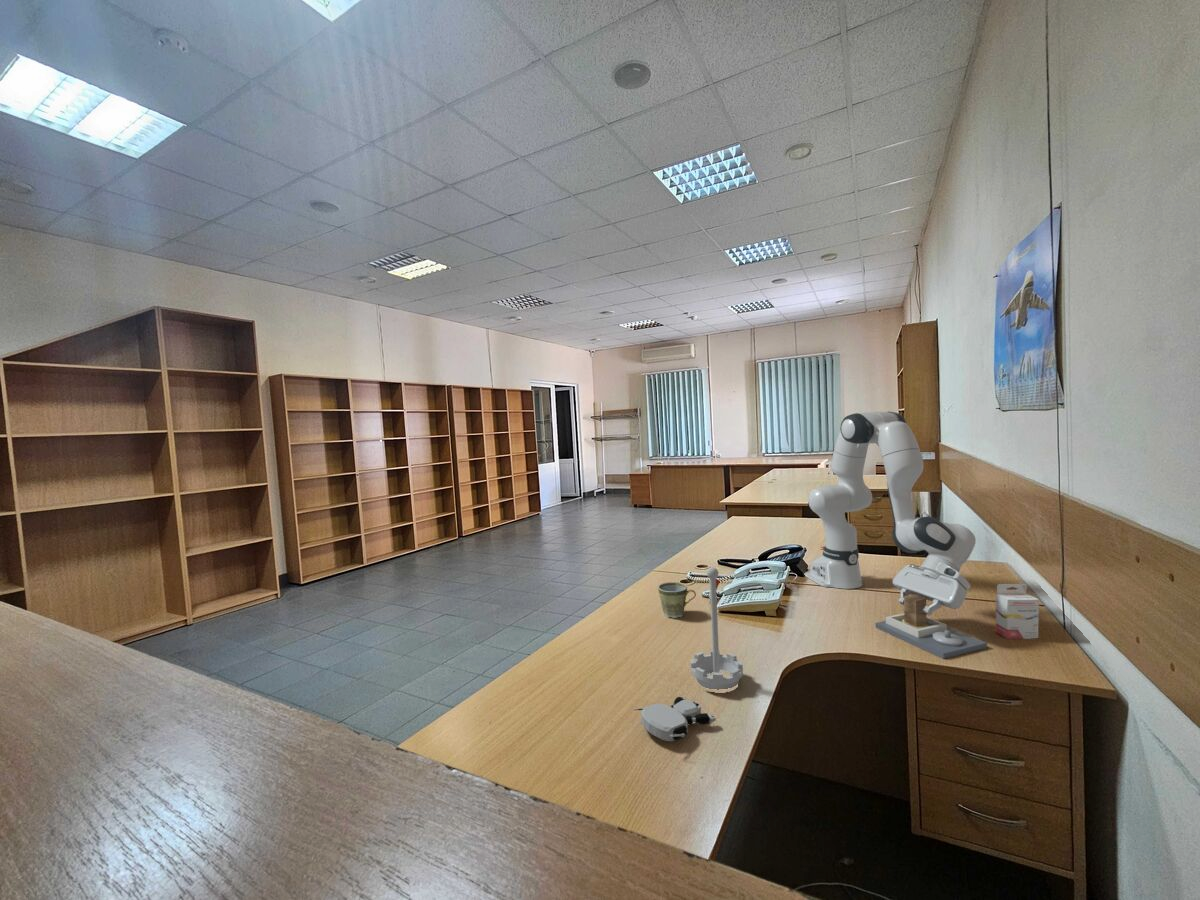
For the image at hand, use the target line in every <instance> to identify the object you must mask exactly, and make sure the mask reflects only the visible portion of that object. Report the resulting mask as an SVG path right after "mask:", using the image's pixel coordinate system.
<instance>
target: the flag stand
mask: <svg viewBox="0 0 1200 900" xmlns="http://www.w3.org/2000/svg"><path fill="white" fill-rule="evenodd" d="M706 575H707V577H708V578H709V590H710V592H709V593H710V595H709V596H710V614H711V615H710V616H711V619H710V620H711V641H712V649H711V650H709V654H704V652H703V651H700V652H696V653H695V654H694V658H690V672H691V674H692V675H693V676H694V677H695V678H694V679H696V681H697V682H698V683H699V684H700V685H701V686H703V687H705V688H709V689H717V690H719V689H728V688H732V687H734V686H736V685H737V684H738V682H739V683H740V679H741V678H742V677H743V675H744V669H743V660H741V659H739V660H737V655H736V654H734V653H731V652H727V653H726V655H725V654H720V653H721V651H720V649H719V625H718V624H719V622H718V621H719V620H718V603H717V602H718V600H717V597H718V596H717V589H718V586H719V585H720V582H721V580H719V579H717V578H718V577H719V570H718V569H717V568H716V567H713V566H712V567H709V568H707V570H706ZM720 670H721V671H723V670H724V671H727V672H729V673H730V676H727V677H723V672H724V671H723V672H722V673H720V672H721V671H720ZM712 672H713V673H712ZM709 673H710V674H711V673H712V674H713V677H712V674H711V676H710V674H709ZM707 674H708V675H707Z"/></svg>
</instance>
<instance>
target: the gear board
mask: <svg viewBox="0 0 1200 900" xmlns="http://www.w3.org/2000/svg"><path fill="white" fill-rule="evenodd" d="M926 617H927V623H928V624H929V626H928V627H924V628H920V629H917V628H914V627H912V626H910V625H907V624H905V623H903V622H902V620H903V619H904V612H903V613H900V614H899V613H898V614H893V615H890V616H885V620H883V621H877V622H875V628H876V629H878V628H879V629H878V630H880V629H881V630H880V631H882V630H883V632H884V631H885V632H884V633H886V632H887V633H886V634H888V633H889V634H888V635H891V636H893V637H895V638H898V639H899V640H901V639H902V641H903V640H904V641H903V642H906V643H909V644H910V645H912V646H914V647H917V648H919V649H921V650H923V651H925V652H928V653H930V654H932V655H934V656H936V657H938V658H940V659H942V660H946V659H950V658H953V657H958V656H962V655H965V654H969V653H972V652H975V651H976V652H977V651H981V650H984V649H987V645H988V643H987V642H986V641H983V640H981V639H978V638H975V637H973V636H970V635H967V634H965V633H963V632H961V631H958V630H956V629H953V628H950V627H948V624H946V623H944V622H942V621H939V620H936V619H935V618H931V617H929V616H927V615H926Z"/></svg>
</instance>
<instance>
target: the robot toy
mask: <svg viewBox="0 0 1200 900" xmlns="http://www.w3.org/2000/svg"><path fill="white" fill-rule="evenodd" d="M633 711H641V714H640V718H641V719H640V721H641V724H642V726H643V728H645V729H646V731H647V732H648V733H649V734H650V735H652V736H655V737H656V738H658V739H660V740H661V741H666V742H675V741H678V740H680V739H682V738H685V737H686V736H687V734H688V727H689V725H688V724H692V723H693V722H696V723H697V724H700V725H709V724H710V722H712V723H713V722H716V719H717V718H716V717H715V715H713V714H708V713H706V712H705V713H704V712H703V713H702V706H701V704H699V703H696V701H694V700H689V699H687V698H686V697H683V696H682V695H681V696H680V695H679V696H676V698H675V699H674V701H673V704H672V705H671V706H670V705H667V704H665V703H657V702H656V703H654V704H650V705H648V706H645V707H642V708H641V707H640V708H637V707H636V708H633Z"/></svg>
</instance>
